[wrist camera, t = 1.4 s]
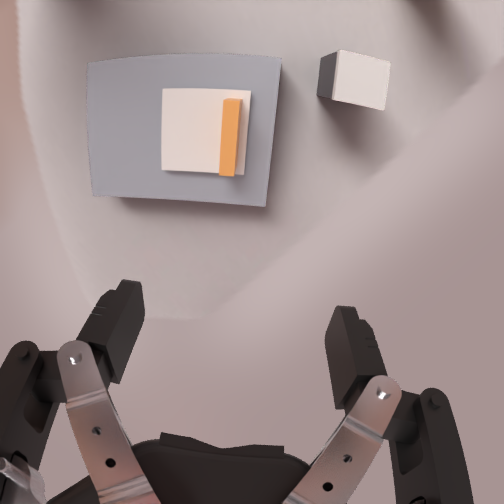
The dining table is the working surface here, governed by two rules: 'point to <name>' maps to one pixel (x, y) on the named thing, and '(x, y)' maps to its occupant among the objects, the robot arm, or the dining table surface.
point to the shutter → (204, 130)
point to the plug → (354, 79)
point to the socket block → (150, 121)
